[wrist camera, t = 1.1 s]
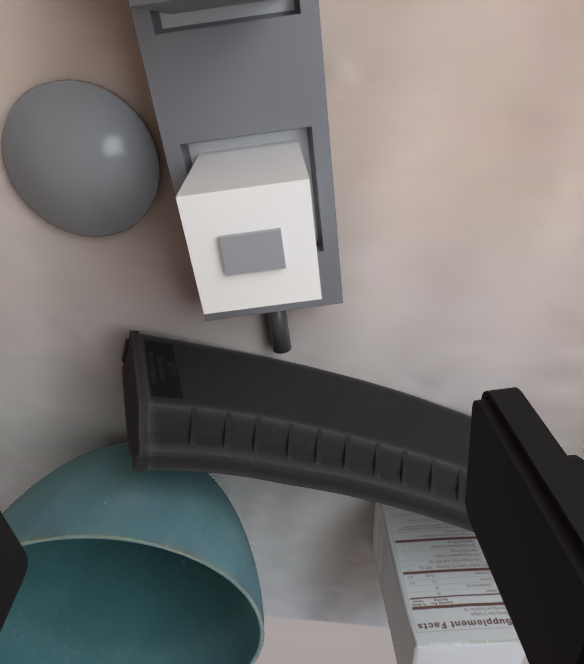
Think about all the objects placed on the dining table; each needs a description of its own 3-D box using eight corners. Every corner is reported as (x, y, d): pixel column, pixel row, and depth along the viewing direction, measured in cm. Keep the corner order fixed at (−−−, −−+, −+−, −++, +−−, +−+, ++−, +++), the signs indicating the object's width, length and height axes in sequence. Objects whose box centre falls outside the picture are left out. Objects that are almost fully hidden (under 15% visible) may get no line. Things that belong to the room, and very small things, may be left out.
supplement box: (452, 542, 45) (511, 702, 35) (370, 546, 45) (403, 709, 34) (465, 483, 42) (535, 642, 31) (374, 488, 41) (413, 650, 31)
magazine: (35, 444, 26) (594, 701, 24) (41, 395, 24) (639, 666, 23) (179, 315, 41) (530, 468, 39) (188, 280, 40) (554, 437, 38)
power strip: (341, 335, 34) (348, 365, 31) (222, 350, 34) (218, 382, 31) (288, -282, 20) (292, -341, 17) (84, -250, 20) (51, -302, 17)
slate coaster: (175, 223, 30) (174, 226, 29) (40, 241, 30) (36, 245, 29) (137, 69, 25) (134, 70, 25) (-19, 91, 26) (-25, 92, 25)
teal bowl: (265, 386, 36) (265, 535, 25) (263, 552, 45) (263, 712, 34) (-1, 386, 35) (-117, 540, 24) (53, 556, 44) (-14, 721, 33)
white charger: (308, 233, 28) (322, 301, 21) (219, 245, 28) (203, 317, 21) (297, 139, 26) (309, 180, 19) (199, 153, 26) (174, 198, 19)
